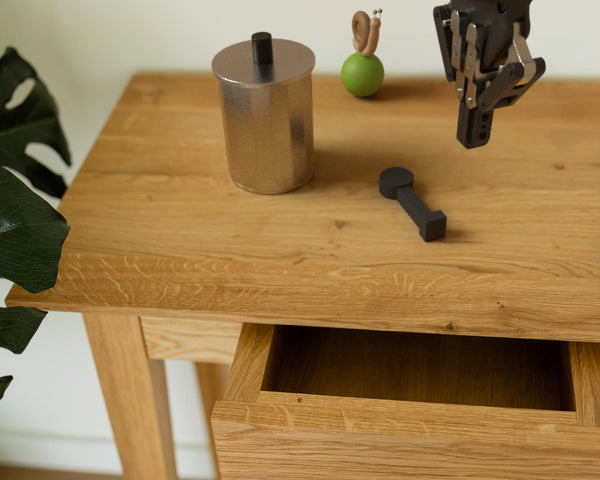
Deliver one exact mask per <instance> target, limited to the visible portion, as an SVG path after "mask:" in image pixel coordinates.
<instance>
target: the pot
mask: <svg viewBox="0 0 600 480" xmlns="http://www.w3.org/2000/svg"><path fill="white" fill-rule="evenodd" d="M312 77H313V76H312V72H311V73H310V74H308V75H307V76H306V77H304V78H303V79H301V80H299V81H296V82H294V83H291V84H288V85H284V86H280V87H274V88H264V89H250V88H241V87H236V86H232V85H229V84H226V83H224V82H222V81H220V80H219V79H218V78H216V79H217V87H218V95H219V103H220V111H221V112H220V113H221V120H222V128H223V129H222V130H223V137H224V143H225V151H226V160H227V168H228V173H229V177H230V179H231V181H232V183H234V185H235V186H237V187H238V188H239V189H240V190H244V191H245V192H248V193H252V194H257V195H279V194H286V193H289V192H291V191H295V190H297V189H299V188H301V187H303V186H305V185H306V184H307V183H309V181H310V180H311V179H312V177H313V176H314V173H315V163H316V161H315V136H314V135H315V134H314V133H315V131H314V107H313V105H314V103H313V78H312Z"/></svg>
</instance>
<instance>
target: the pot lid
mask: <svg viewBox="0 0 600 480" xmlns="http://www.w3.org/2000/svg"><path fill="white" fill-rule="evenodd" d="M210 67H211V72H212V74H213V75H214V77H215V78H216V79H217V78H218V79H219V80H220V81H222V82H224V83H226V84H229V85H232V86H236V87H241V88H250V89H264V88H274V87H280V86H284V85H288V84H291V83H294V82H296V81H299V80H301V79H303V78H304V77H306V76H307V75H308V74H310V73H312V72H313V70H314V69H315V67H316V54H315V53H314V51H313V50H312V49H311V48H310V47H309V46H308V45H305V44H303V43H301V42H298V41H294V40H290V39H286V38H273V35H272V33H270V32H268V31H256V32H254V33H253V34H251V38H250V39H247V40H243V41H239V42H236V43H233V44H231V45H229V46H226V47H224V48H223V49H221V50H220V51H218V52H217V53H216V54H215V55H214V56H213V58H212V60H211V66H210Z"/></svg>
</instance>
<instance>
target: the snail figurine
mask: <svg viewBox="0 0 600 480" xmlns="http://www.w3.org/2000/svg"><path fill="white" fill-rule="evenodd" d="M382 13H383V8H381V7H379V8H378V9H373V10H372V14H373V15H374V16H373V17H372V18H371V17H370V16H369V15H368V13H367V12H366V11H364V10H358V11H356V12H355V13H354V14H353V16H352V18H351V31H352V35H353V37H352V45H353V48H354V50H355V52H353V53H352V54H349V56H348V57H347V58H346V59H345V60H344V61H343V64H342V66H341V69H340V80H341V84H342V85H343V87H344V88H345V90H346V91H347V92H348V93H350V94H351V95H353V96H355V97H360V98H361V97H362V98H363V97H368V96H369V97H370V96H371V95H374V94H375V93H376V92H377V91H379V89H380V88H381V86H382V85H383V83H384V80H385V68H384V65H383V64H384V63H383V62H382V60H381V59H380V58H379V57H378V56H377V55H376V54H375V53H376V51H377V48H378V44H379V40H380V30H381V27H382V21H381V18H380V17H377V16H376V15H377V14H379V16H382V15H381V14H382Z"/></svg>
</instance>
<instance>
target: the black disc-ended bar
mask: <svg viewBox="0 0 600 480" xmlns="http://www.w3.org/2000/svg"><path fill="white" fill-rule="evenodd" d="M378 175H379V176H378V192H379V194H380V195H381V196H382V197H384V198H386V199H388V200H395V201H397V202H398V204H399V205H400V206H401V207H402V209H403V210H404V212H405V213H406V214H407V215H408V217H409V218H410V219H411V220H412V221H413V223H414V224H415V225H416V226H417V228H418V229H419V230H418V234H419V236H420V237H421V239H422V240H423V241H424V242H429V241H434V240H437V239H438V240H439V239H442V238H445V237H446V232H447V231H446V230H447V221H448V216H447V215H446V214H445V213H444V212H443V211H442V209H438V210H437V209H436V210H434V211H431V210H430V209H429V208H428V206H427V205H426V204H425V202H424V201H423V200H422V198H421V197H420V196H419V195H418V194H417V193H416V191H415V190H414V185H415V184H414V183H415V182H414V181H415V174H414V173H413V171H411V170H410V169H408V168H406V167H402V166H391V167H390V166H389V167H386V168H384V169H383V170H382V171H381V172H380V173H379V174H378Z"/></svg>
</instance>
